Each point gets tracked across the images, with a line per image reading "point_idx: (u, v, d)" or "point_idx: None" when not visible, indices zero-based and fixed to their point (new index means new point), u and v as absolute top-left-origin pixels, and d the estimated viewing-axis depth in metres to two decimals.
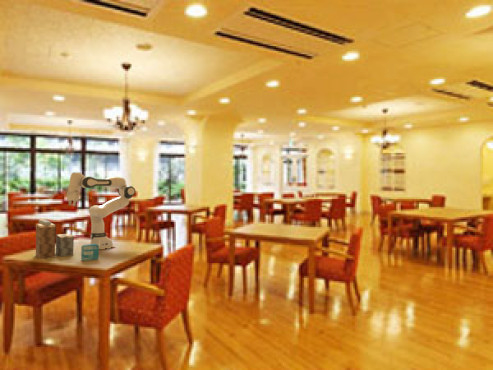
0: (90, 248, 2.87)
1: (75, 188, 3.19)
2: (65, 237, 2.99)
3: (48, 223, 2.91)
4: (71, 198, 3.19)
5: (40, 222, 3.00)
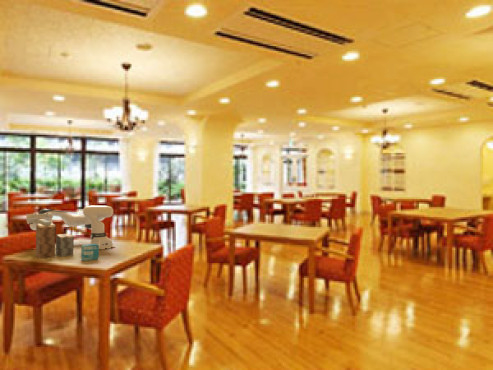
0: (90, 248, 2.87)
1: None
2: (65, 237, 2.99)
3: (48, 223, 2.91)
4: None
5: (40, 222, 3.00)
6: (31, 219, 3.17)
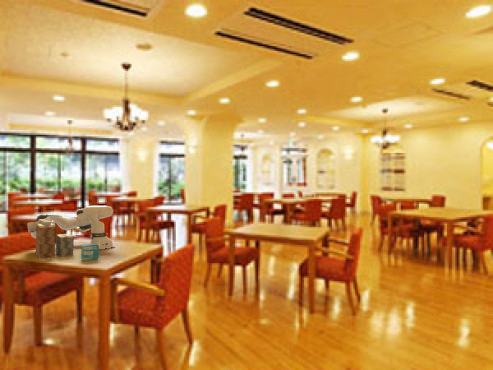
0: (90, 248, 2.87)
1: None
2: (65, 237, 2.99)
3: (48, 223, 2.91)
4: None
5: None
6: (32, 227, 3.02)
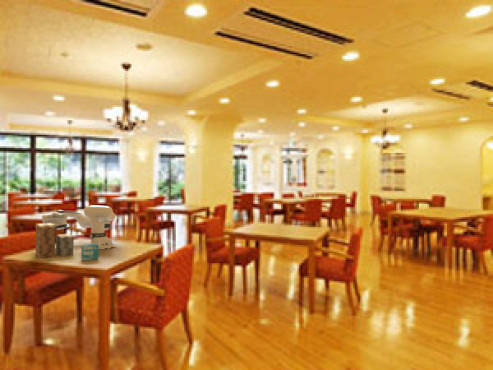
0: (90, 248, 2.87)
1: None
2: (65, 237, 2.99)
3: (62, 215, 3.12)
4: None
5: (54, 215, 3.22)
6: (47, 219, 3.23)
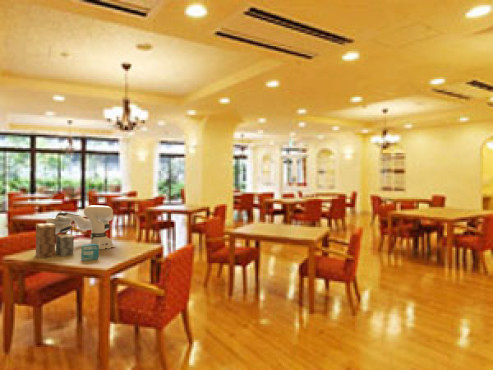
0: (90, 248, 2.87)
1: None
2: (65, 237, 2.99)
3: (67, 219, 3.00)
4: None
5: (59, 218, 3.10)
6: None
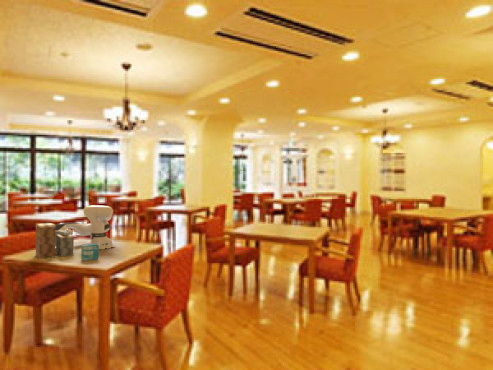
0: (90, 248, 2.87)
1: None
2: (65, 237, 2.99)
3: (67, 233, 3.00)
4: None
5: (59, 233, 3.10)
6: None
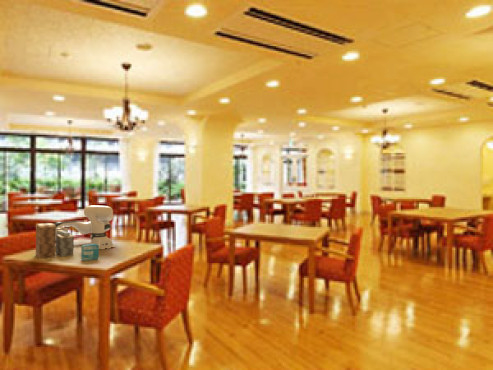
0: (90, 248, 2.87)
1: None
2: (65, 237, 2.99)
3: (67, 234, 3.00)
4: None
5: (59, 233, 3.10)
6: None
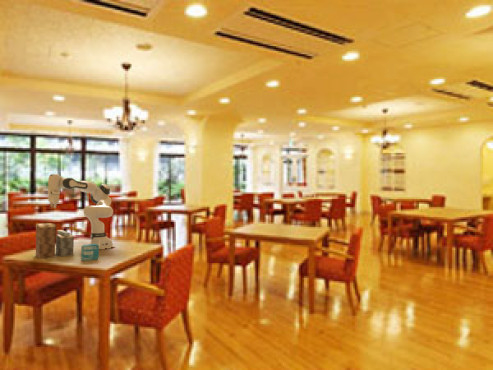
0: (90, 248, 2.87)
1: None
2: (65, 237, 2.99)
3: (67, 234, 3.00)
4: None
5: (59, 233, 3.10)
6: (53, 198, 3.19)
